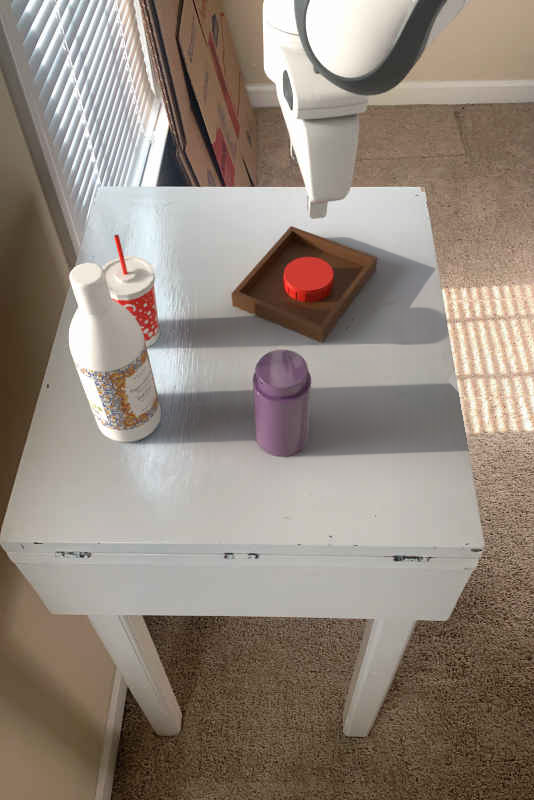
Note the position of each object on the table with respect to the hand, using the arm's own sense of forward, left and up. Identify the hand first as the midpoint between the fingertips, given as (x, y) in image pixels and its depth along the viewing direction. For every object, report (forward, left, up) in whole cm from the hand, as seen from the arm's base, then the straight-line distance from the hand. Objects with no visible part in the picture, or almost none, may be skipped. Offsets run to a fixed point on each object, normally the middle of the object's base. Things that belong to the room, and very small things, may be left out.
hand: (307, 186), depth 73 cm
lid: (-1, 0, -12) cm, 12 cm away
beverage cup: (+21, -3, -14) cm, 25 cm away
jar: (+13, +18, -14) cm, 27 cm away
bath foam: (+27, +8, -14) cm, 31 cm away
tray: (0, 0, -14) cm, 14 cm away
